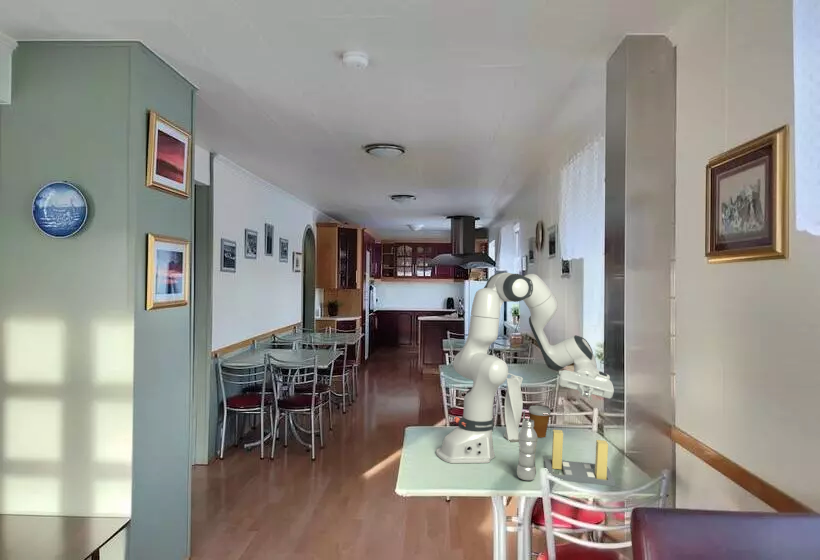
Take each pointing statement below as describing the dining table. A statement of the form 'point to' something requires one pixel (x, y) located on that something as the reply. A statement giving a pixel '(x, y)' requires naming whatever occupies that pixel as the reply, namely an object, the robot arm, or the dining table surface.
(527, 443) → the plastic bottle
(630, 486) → the dining table surface
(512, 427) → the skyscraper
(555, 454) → the yellow rectangular block
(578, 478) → the switch bank
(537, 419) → the disposable coffee cup
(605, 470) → the yellow bar
